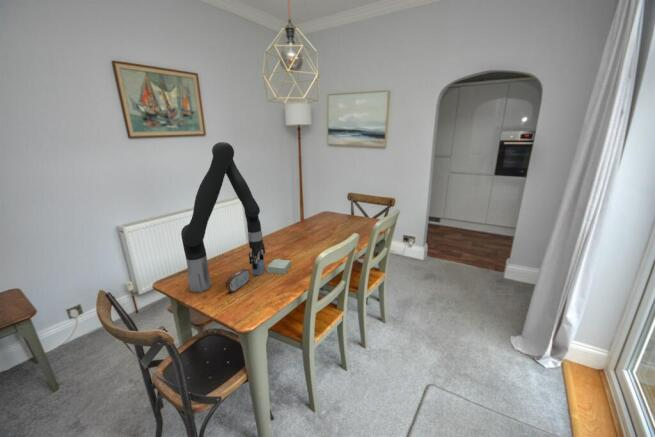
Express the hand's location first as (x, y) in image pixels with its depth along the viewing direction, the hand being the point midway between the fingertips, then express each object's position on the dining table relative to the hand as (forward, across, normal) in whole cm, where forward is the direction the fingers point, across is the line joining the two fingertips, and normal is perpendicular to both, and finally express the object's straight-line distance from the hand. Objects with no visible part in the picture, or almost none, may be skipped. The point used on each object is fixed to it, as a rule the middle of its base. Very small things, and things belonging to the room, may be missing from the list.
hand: (258, 265), depth 157 cm
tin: (+4, -16, +3) cm, 17 cm away
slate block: (+4, 0, 0) cm, 4 cm away
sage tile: (+5, +6, -10) cm, 12 cm away
